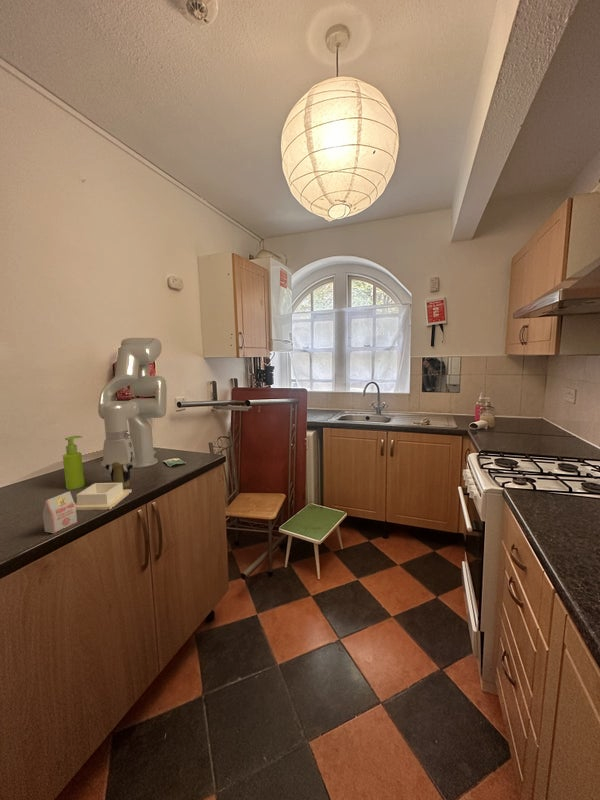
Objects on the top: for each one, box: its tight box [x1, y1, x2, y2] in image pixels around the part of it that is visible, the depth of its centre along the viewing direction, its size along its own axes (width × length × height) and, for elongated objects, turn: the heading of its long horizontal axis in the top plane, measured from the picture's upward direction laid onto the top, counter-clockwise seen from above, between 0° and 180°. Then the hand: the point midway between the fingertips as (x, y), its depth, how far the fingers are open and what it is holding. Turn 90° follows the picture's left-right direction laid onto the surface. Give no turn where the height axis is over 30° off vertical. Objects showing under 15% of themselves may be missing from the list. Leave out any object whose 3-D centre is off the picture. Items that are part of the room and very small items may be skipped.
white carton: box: [42, 490, 78, 533], centre depth 92 cm, size 4×7×10 cm, turn 162°
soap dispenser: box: [62, 435, 85, 490], centre depth 123 cm, size 6×7×20 cm
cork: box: [112, 462, 131, 489], centre depth 123 cm, size 6×6×11 cm
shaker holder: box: [74, 482, 132, 511], centre depth 110 cm, size 14×14×4 cm
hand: (120, 480), depth 123 cm, fingers closed on cork, 3 cm apart
